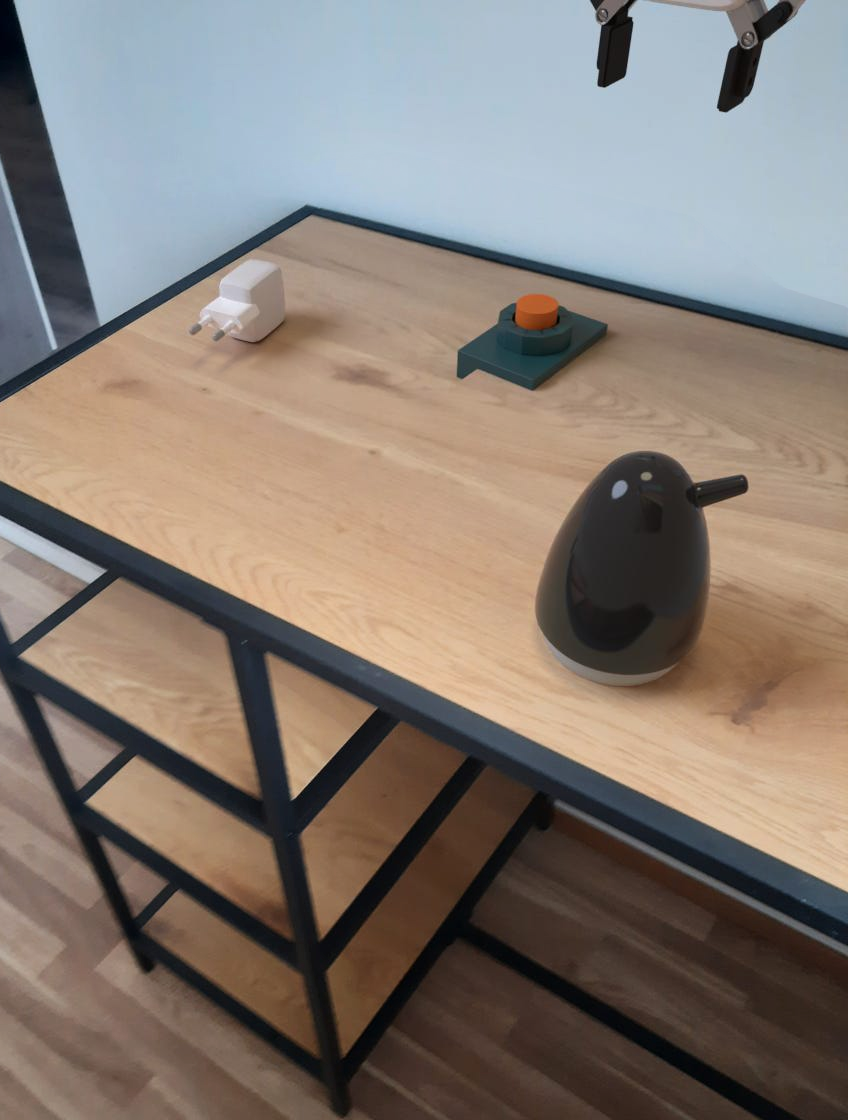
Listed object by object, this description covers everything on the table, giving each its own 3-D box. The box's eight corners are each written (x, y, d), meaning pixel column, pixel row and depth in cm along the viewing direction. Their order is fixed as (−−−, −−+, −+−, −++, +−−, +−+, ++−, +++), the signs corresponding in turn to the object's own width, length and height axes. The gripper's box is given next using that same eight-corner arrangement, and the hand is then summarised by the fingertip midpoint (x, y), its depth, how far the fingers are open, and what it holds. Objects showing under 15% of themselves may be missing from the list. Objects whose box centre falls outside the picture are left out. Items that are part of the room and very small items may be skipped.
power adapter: (229, 375, 86) (220, 315, 81) (186, 363, 87) (175, 304, 83) (293, 320, 92) (288, 262, 88) (252, 310, 94) (245, 253, 90)
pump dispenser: (701, 719, 57) (772, 527, 46) (529, 707, 58) (558, 516, 47) (682, 602, 64) (740, 410, 53) (528, 593, 65) (553, 403, 54)
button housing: (531, 324, 90) (536, 279, 87) (603, 351, 87) (611, 305, 83) (456, 377, 84) (458, 331, 81) (530, 408, 81) (535, 361, 77)
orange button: (530, 308, 84) (532, 289, 83) (564, 320, 83) (566, 301, 81) (506, 324, 82) (508, 305, 81) (541, 336, 81) (543, 317, 80)
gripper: (892, -222, 55) (803, 102, 67) (628, -228, 63) (593, 61, 75) (842, -207, 51) (758, 133, 63) (568, -216, 59) (541, 87, 71)
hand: (668, 94), depth 69 cm, fingers open, 9 cm apart
